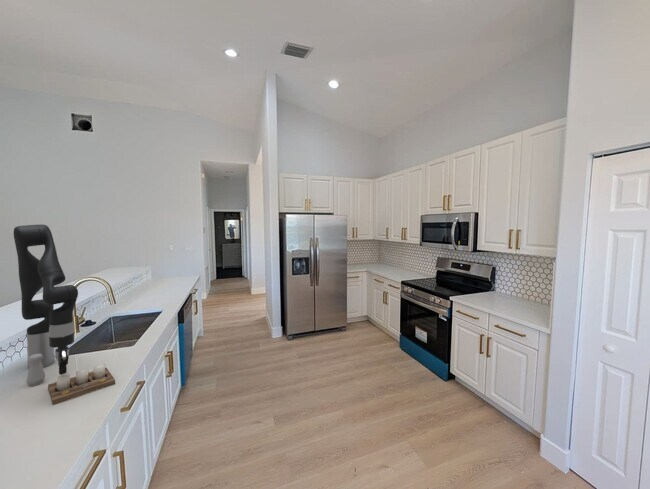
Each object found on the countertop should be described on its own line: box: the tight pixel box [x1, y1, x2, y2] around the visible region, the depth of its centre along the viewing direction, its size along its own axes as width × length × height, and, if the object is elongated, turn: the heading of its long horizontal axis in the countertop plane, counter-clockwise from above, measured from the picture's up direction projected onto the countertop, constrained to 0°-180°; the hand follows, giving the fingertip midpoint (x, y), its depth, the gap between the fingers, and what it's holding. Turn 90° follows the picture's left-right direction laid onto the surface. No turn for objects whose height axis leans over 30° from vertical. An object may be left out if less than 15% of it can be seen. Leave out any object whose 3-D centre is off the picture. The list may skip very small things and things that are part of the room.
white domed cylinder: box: [56, 373, 71, 391], centre depth 115 cm, size 4×4×5 cm
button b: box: [75, 368, 89, 385], centre depth 120 cm, size 4×4×5 cm
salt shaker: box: [26, 354, 46, 387], centre depth 121 cm, size 6×6×13 cm
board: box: [47, 367, 116, 406], centre depth 120 cm, size 16×20×2 cm
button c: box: [93, 363, 106, 380], centre depth 124 cm, size 4×4×5 cm
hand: (62, 373), depth 115 cm, fingers closed
